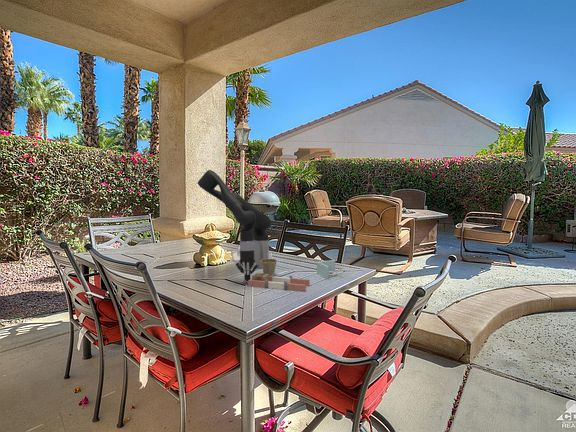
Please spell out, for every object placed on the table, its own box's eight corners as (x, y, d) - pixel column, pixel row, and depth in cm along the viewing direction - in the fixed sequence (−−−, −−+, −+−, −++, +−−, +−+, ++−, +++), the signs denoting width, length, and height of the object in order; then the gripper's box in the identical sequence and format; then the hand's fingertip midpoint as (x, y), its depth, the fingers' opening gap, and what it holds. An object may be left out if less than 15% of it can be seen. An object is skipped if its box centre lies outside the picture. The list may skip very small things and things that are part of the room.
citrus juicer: (256, 261, 214) (258, 243, 210) (239, 267, 204) (241, 248, 199) (245, 254, 222) (247, 236, 217) (228, 260, 211) (229, 241, 207)
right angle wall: (327, 280, 169) (327, 266, 168) (316, 274, 180) (316, 261, 179) (345, 277, 174) (345, 264, 173) (334, 272, 185) (334, 259, 184)
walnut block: (252, 285, 159) (252, 275, 159) (257, 281, 165) (257, 272, 164) (264, 286, 157) (264, 277, 156) (269, 283, 162) (269, 274, 162)
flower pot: (280, 274, 179) (279, 259, 178) (272, 278, 170) (272, 263, 169) (265, 272, 183) (265, 258, 182) (257, 276, 174) (257, 261, 173)
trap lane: (247, 286, 157) (247, 278, 156) (255, 280, 168) (255, 272, 167) (305, 292, 149) (305, 283, 148) (309, 284, 160) (309, 277, 159)
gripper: (232, 249, 159) (232, 282, 161) (256, 251, 156) (256, 284, 157) (238, 246, 166) (239, 277, 168) (261, 248, 163) (261, 280, 165)
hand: (247, 280), depth 163 cm, fingers closed
